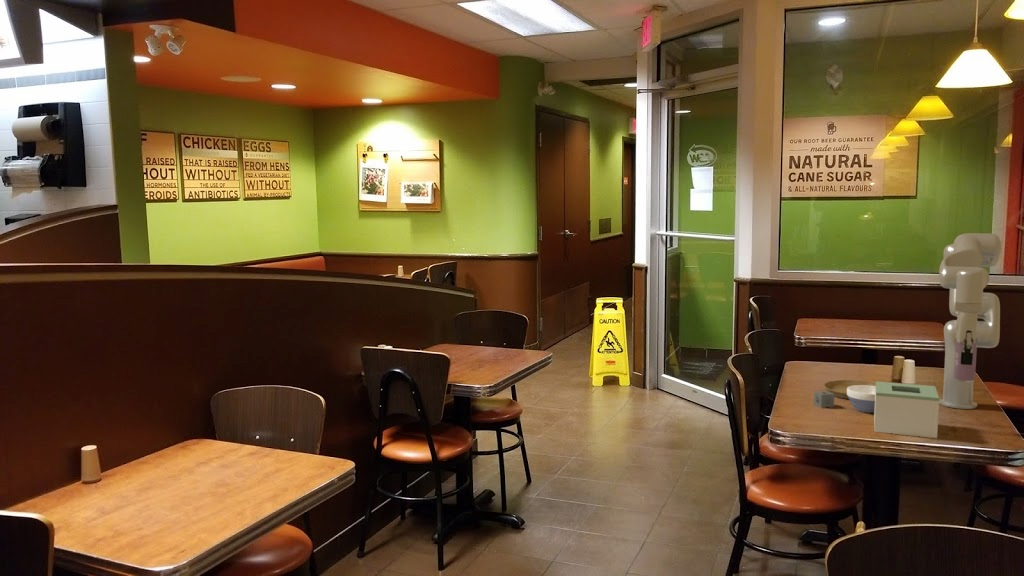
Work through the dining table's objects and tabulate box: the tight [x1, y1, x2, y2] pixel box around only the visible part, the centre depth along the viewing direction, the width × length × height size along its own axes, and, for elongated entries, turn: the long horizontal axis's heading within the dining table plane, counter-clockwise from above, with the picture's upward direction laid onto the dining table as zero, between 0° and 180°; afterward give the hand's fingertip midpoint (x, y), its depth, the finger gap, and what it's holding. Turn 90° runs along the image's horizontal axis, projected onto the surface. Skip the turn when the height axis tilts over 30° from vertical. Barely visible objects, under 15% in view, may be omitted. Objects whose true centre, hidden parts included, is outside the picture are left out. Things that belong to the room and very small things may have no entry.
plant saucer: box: [823, 379, 876, 400], centre depth 304 cm, size 24×24×3 cm
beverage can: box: [954, 336, 978, 383], centre depth 254 cm, size 6×6×15 cm
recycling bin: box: [873, 380, 940, 439], centre depth 257 cm, size 18×18×13 cm
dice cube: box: [813, 390, 835, 409], centre depth 287 cm, size 5×5×5 cm
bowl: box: [847, 385, 876, 414], centre depth 280 cm, size 14×14×8 cm
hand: (965, 361), depth 254 cm, fingers closed on beverage can, 6 cm apart
